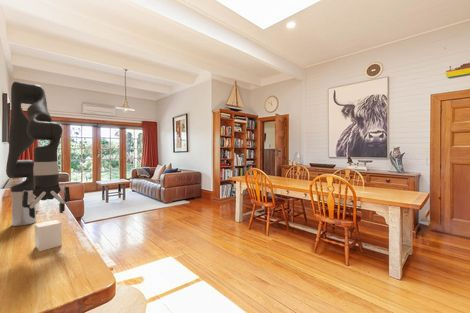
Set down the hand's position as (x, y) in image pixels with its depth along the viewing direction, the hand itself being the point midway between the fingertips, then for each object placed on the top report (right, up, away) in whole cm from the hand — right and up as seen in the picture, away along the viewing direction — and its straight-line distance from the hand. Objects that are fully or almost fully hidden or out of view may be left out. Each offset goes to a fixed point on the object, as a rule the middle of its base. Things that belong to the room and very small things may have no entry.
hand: (47, 215), depth 89 cm
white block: (0, -12, 0) cm, 12 cm away
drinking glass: (-55, -13, +57) cm, 80 cm away
